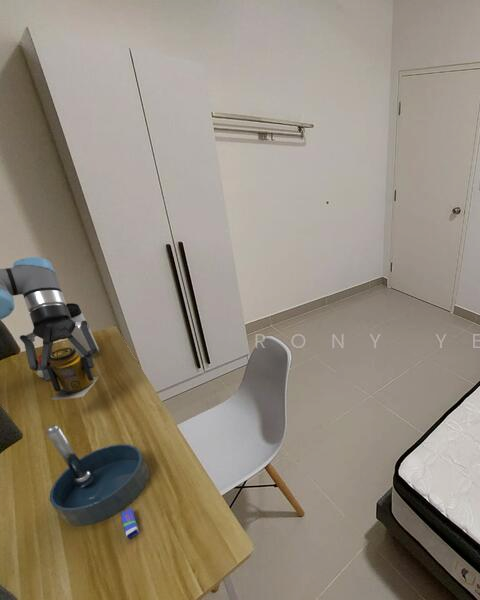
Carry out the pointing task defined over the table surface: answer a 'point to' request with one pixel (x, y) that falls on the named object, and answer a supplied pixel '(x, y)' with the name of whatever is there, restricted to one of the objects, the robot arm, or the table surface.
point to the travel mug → (78, 333)
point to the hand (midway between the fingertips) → (74, 384)
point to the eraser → (129, 523)
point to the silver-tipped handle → (70, 457)
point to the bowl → (101, 485)
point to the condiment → (70, 374)
